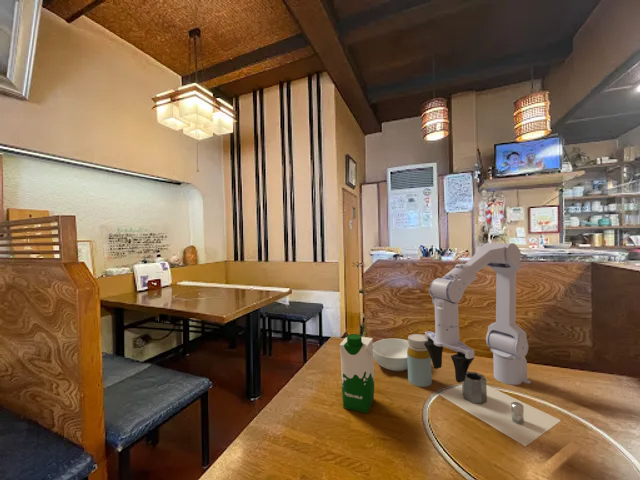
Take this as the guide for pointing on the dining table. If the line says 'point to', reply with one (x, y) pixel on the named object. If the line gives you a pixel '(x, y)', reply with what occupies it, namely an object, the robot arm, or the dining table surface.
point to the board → (504, 414)
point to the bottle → (418, 361)
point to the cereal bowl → (391, 353)
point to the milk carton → (357, 372)
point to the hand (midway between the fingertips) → (448, 374)
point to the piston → (517, 413)
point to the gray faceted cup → (474, 388)
